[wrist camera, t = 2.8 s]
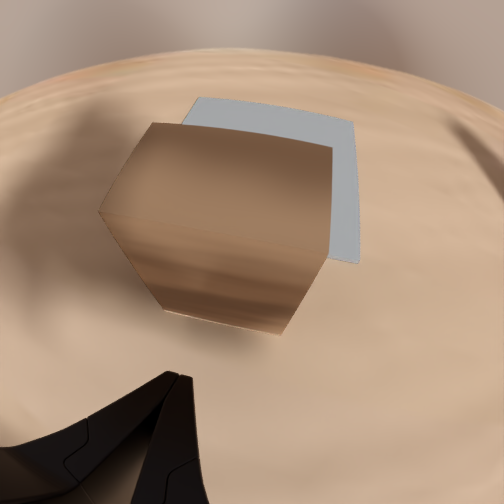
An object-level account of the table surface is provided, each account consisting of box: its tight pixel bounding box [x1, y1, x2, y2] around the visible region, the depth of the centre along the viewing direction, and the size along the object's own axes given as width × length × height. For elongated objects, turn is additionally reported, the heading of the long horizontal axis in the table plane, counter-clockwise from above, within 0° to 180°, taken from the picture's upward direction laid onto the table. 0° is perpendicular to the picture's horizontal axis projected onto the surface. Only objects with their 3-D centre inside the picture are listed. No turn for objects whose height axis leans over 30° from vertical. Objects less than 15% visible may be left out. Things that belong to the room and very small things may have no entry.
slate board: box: [182, 97, 360, 264], centre depth 23 cm, size 16×16×1 cm
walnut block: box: [98, 123, 333, 336], centre depth 13 cm, size 4×7×10 cm, turn 79°
